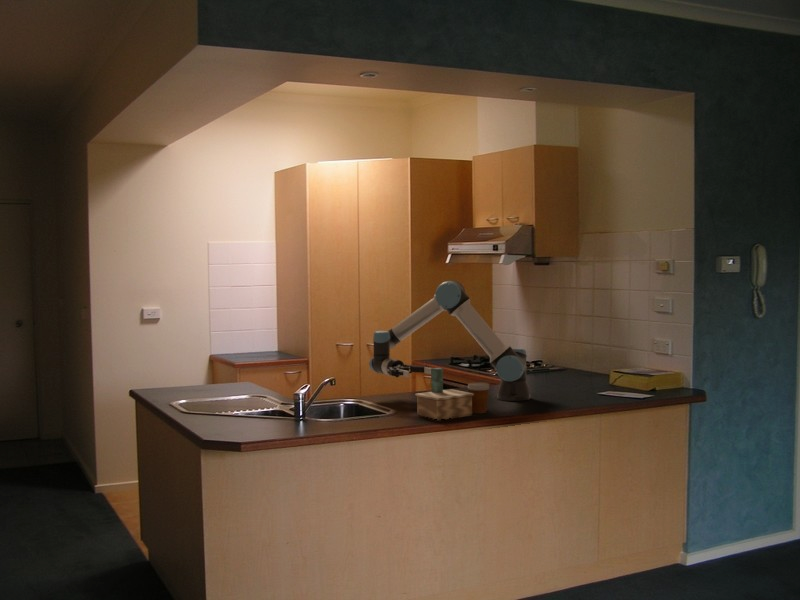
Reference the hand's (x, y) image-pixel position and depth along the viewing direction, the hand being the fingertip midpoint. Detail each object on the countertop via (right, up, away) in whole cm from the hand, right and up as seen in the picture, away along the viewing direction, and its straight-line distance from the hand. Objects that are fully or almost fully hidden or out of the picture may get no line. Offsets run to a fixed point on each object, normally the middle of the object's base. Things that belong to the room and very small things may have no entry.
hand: (421, 373), depth 365 cm
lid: (+9, -8, -13) cm, 18 cm away
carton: (+9, -17, -12) cm, 23 cm away
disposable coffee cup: (+24, -16, -6) cm, 30 cm away
